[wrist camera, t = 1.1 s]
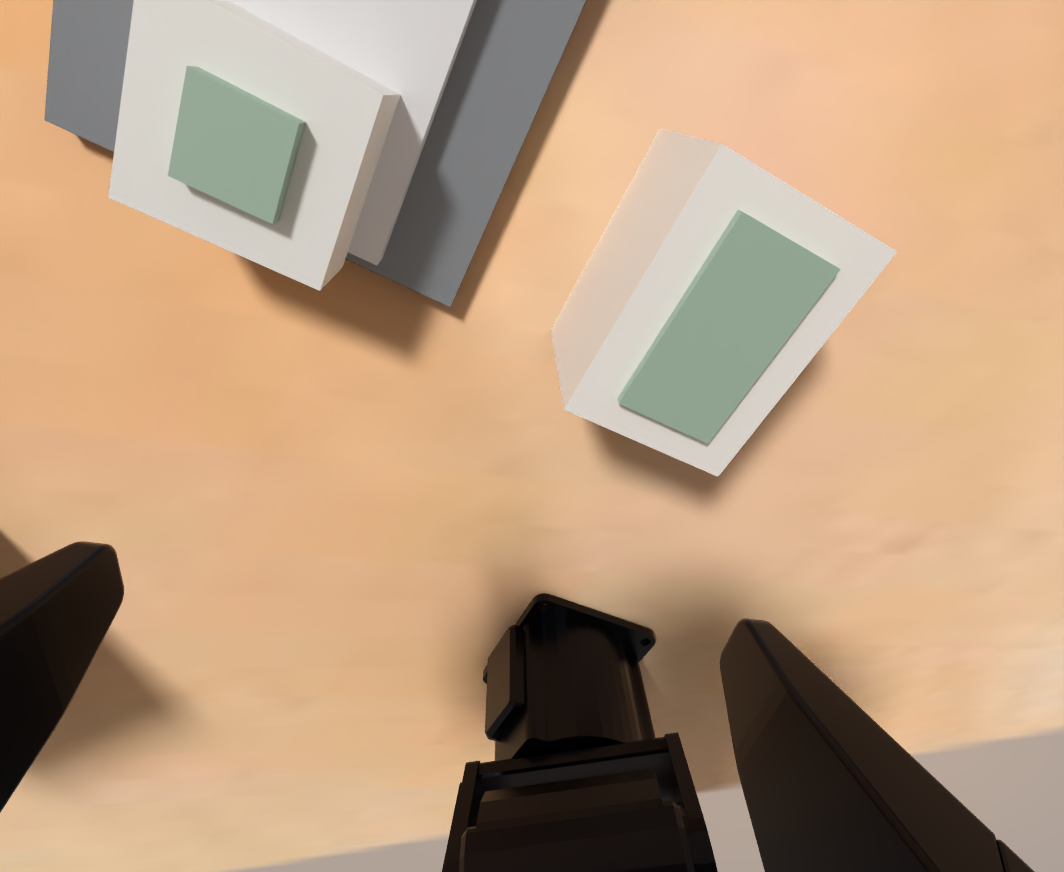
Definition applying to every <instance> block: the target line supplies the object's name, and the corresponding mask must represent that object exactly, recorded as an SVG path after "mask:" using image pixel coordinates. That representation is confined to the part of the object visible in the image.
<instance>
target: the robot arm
mask: <svg viewBox="0 0 1064 872" xmlns="http://www.w3.org/2000/svg"><path fill="white" fill-rule="evenodd" d="M123 595H124V585H123V581H122V576H121V572H120V567H119V563H118V558H117V554H116V551H115V549H114V548H113V547H112V546H111V545H108V544H101V543H92V542H84V541H83V542H75V543H73V544H70V545H68V546H66V547H64V548H62V549H60V550H58V551H56V552H54V553H52V554H49V555H47V556H45V557H43V558H41V559H39V560H37V561H35V562H33V563H31V564H29V565H27V566H25V567H23V568H21V569H19V570H16V571H14V572H12V573H10V574H8V575H6V576H4V577H2V578H0V812H1V811H2V809H3V808H4V806H5V805H6V803H7V801H8V800H9V798H10V797H11V795H12V794H13V792H14V791H15V789H16V788H17V786H18V785H19V783H20V782H21V780H22V778H23V777H24V775H25V774H26V772H27V771H28V769H29V768H30V766H31V765H32V763H33V762H34V760H35V758H36V757H37V755H38V754H39V752H40V751H41V749H42V748H43V746H44V745H45V743H46V742H47V740H48V739H49V737H50V735H51V734H52V732H53V731H54V729H55V728H56V726H57V724H58V723H59V721H60V720H61V718H62V716H63V715H64V713H65V711H66V709H67V708H68V706H69V704H70V702H71V700H72V699H73V697H74V695H75V693H76V691H77V689H78V687H79V685H80V683H81V681H82V679H83V677H84V676H85V674H86V672H87V670H88V668H89V666H90V664H91V662H92V660H93V658H94V656H95V654H96V652H97V650H98V648H99V646H100V644H101V643H102V641H103V639H104V637H105V635H106V633H107V631H108V629H109V627H110V625H111V623H112V621H113V619H114V617H115V615H116V613H117V611H118V610H119V608H120V605H121V603H122V600H123ZM541 604H546V605H541ZM645 638H646V639H645ZM655 642H656V640H655V636H654V633H653V631H652V630H650V629H648V628H645V627H642V626H639V625H636V624H633V623H630V622H627V621H625V620H622V619H619V618H616V617H613V616H610V615H607V614H604V613H601V612H598V611H595V610H592V609H590V608H587V607H584V606H581V605H578V604H575V603H572V602H569V601H566V600H563V599H560V598H557V597H554V596H552V595H549V594H539V595H537V596H535V597H534V598H533V600H532V601H531V603H530V604H529V606H528V607H527V608H526V610H525V611H524V613H523V614H522V616H521V617H520V619H519V620H518V621H517V623H516V624H515V625H513V626H511V627H509V629H508V630H507V631H506V633H505V634H504V636H503V637H502V639H501V640H500V642H499V643H498V645H497V646H496V647H495V649H494V650H493V652H492V653H491V655H490V656H489V658H488V665H487V666H486V668H485V669H484V672H483V680H484V682H485V683H486V684H487V697H486V721H485V733H486V736H487V738H488V739H490V740H493V741H495V761H491V762H484V763H480V761H474V762H467V763H466V765H465V770H464V775H463V780H462V783H460V785H459V790H458V795H457V800H456V805H455V810H454V815H453V820H452V825H451V830H450V835H449V839H448V845H447V850H446V854H445V859H444V864H443V869H442V872H717V867H716V863H715V859H714V855H713V850H712V847H711V843H710V839H709V836H708V831H707V828H706V824H705V821H704V817H703V814H702V811H701V807H700V804H699V801H698V797H697V794H696V791H695V787H694V784H693V781H692V777H691V774H690V771H689V768H688V764H687V761H686V758H685V754H684V751H683V748H682V744H681V741H680V738H679V734H678V733H671V734H665V737H661V738H655V734H654V729H653V725H652V720H651V716H650V711H649V707H648V702H647V698H646V693H645V689H644V684H643V680H642V675H641V671H640V666H639V662H640V660H641V659H642V658H643V657H644V656H645V655H646V654H647V652H648V651H649V650H650V649H651V648H652V647H653V646H654V644H655ZM720 670H721V676H722V682H723V688H724V694H725V700H726V706H727V712H728V718H729V724H730V730H731V736H732V742H733V748H734V754H735V759H736V764H737V769H738V773H739V777H740V781H741V785H742V789H743V792H744V796H745V800H746V803H747V807H748V811H749V814H750V818H751V822H752V826H753V829H754V833H755V836H756V840H757V844H758V847H759V851H760V855H761V858H762V862H763V866H764V870H765V872H1034V871H1033V870H1032V869H1031V868H1030V867H1029V866H1028V865H1027V864H1026V863H1024V861H1023V860H1022V859H1020V858H1019V857H1018V856H1017V855H1016V854H1015V853H1014V852H1013V851H1012V850H1011V849H1010V848H1009V847H1008V846H1007V845H1006V844H1005V843H1003V842H1002V841H1001V840H996V838H995V835H994V833H993V832H991V831H990V830H989V829H988V828H987V827H986V826H985V825H984V824H983V823H982V822H981V821H980V820H979V819H978V818H977V817H976V816H974V815H973V814H972V813H971V812H970V811H969V810H968V809H967V808H966V807H965V806H964V805H963V804H962V803H961V802H960V801H959V800H958V799H957V798H955V797H954V796H953V795H952V794H951V793H950V792H949V791H948V790H947V789H946V788H945V787H944V786H943V785H942V784H941V783H940V782H939V781H937V780H936V779H935V778H934V777H933V776H932V775H931V774H930V773H929V772H928V771H927V770H926V769H925V768H924V767H922V765H920V764H919V763H918V762H917V761H916V760H915V759H914V758H913V757H912V756H911V755H910V754H909V753H908V752H907V751H906V750H905V749H904V748H902V747H901V746H900V745H899V744H898V743H897V742H896V741H895V740H894V739H893V738H892V737H891V736H890V735H889V734H888V733H887V732H885V731H884V730H883V729H882V728H881V727H880V726H879V725H878V724H877V723H876V722H875V721H874V720H873V719H872V718H871V717H870V716H868V715H867V714H866V713H865V712H864V711H863V710H862V709H861V708H860V707H859V706H858V705H857V704H856V703H855V702H854V701H853V700H852V699H850V698H849V697H848V696H847V695H846V694H845V693H844V692H843V691H842V690H841V689H840V688H839V687H838V686H837V685H836V684H835V683H833V682H832V681H831V680H830V679H829V678H828V677H827V676H826V675H825V674H824V673H823V672H822V671H821V670H820V669H819V668H818V667H816V666H815V665H814V664H813V663H812V662H811V661H810V660H809V659H808V658H807V657H806V656H805V655H804V654H803V653H802V652H801V651H800V650H798V649H797V648H796V647H795V646H794V645H793V644H792V643H791V642H790V641H789V640H788V639H787V638H786V637H785V636H784V635H783V634H781V633H780V632H779V631H778V630H777V629H776V628H775V627H774V626H773V625H772V624H770V623H769V622H767V621H763V620H754V619H742V620H740V621H739V622H738V623H737V625H736V626H735V628H734V630H733V632H732V634H731V636H730V638H729V640H728V642H727V644H726V646H725V647H724V649H723V651H722V654H721V658H720Z"/></svg>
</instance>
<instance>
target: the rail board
mask: <svg viewBox="0 0 1064 872" xmlns="http://www.w3.org/2000/svg"><path fill="white" fill-rule="evenodd" d="M585 2H586V0H53V12H52V25H51V39H50V52H49V66H48V80H47V93H46V107H45V121H48V122H50V123H52V124H54V125H56V126H58V127H61V128H63V129H65V130H67V131H69V132H71V133H74V134H76V135H78V136H80V137H82V138H84V139H87V140H89V141H91V142H93V143H95V144H97V145H100V146H102V147H104V148H106V149H108V150H110V151H113V152H114V157H113V165H112V173H111V180H110V188H109V196H108V198H111V199H113V200H115V201H117V202H120V203H122V204H124V205H126V206H129V207H131V208H133V209H135V210H138V211H140V212H142V213H145V214H147V215H149V216H151V217H154V218H156V219H158V220H160V221H163V222H165V223H167V224H169V225H172V226H174V227H176V228H178V229H181V230H183V231H185V232H188V233H190V234H192V235H194V236H197V237H199V238H201V239H203V240H206V241H208V242H210V243H212V244H215V245H217V246H219V247H221V248H224V249H226V250H228V251H230V252H233V253H235V254H237V255H240V256H242V257H244V258H246V259H249V260H251V261H253V262H255V263H258V264H260V265H262V266H264V267H267V268H269V269H271V270H273V271H276V272H278V273H280V274H283V275H285V276H287V277H289V278H292V279H294V280H296V281H298V282H301V283H303V284H305V285H307V286H310V287H312V288H314V289H316V290H319V291H320V290H321V289H322V288H323V287H324V286H325V285H326V284H327V283H328V282H329V281H330V280H331V279H332V278H333V277H334V276H335V275H336V274H337V273H338V272H339V271H340V270H341V269H342V268H343V265H344V262H345V259H347V260H349V261H351V262H353V263H355V264H357V265H360V266H362V267H364V268H366V269H368V270H370V271H373V272H375V273H377V274H379V275H381V276H383V277H386V278H388V279H390V280H392V281H394V282H396V283H399V284H401V285H403V286H405V287H407V288H409V289H412V290H414V291H416V292H418V293H420V294H422V295H425V296H427V297H429V298H431V299H433V300H435V301H438V302H440V303H442V304H444V305H446V306H448V307H451V305H452V302H453V300H454V298H455V295H456V293H457V291H458V289H459V286H460V284H461V282H462V280H463V277H464V275H465V273H466V271H467V268H468V266H469V264H470V262H471V259H472V257H473V255H474V253H475V250H476V248H477V246H478V243H479V241H480V239H481V237H482V234H483V232H484V230H485V228H486V225H487V223H488V221H489V219H490V216H491V214H492V212H493V210H494V207H495V205H496V203H497V201H498V198H499V196H500V194H501V191H502V189H503V187H504V185H505V182H506V180H507V178H508V176H509V173H510V171H511V169H512V167H513V164H514V162H515V160H516V158H517V155H518V153H519V151H520V149H521V146H522V144H523V142H524V139H525V137H526V135H527V133H528V130H529V128H530V126H531V124H532V121H533V119H534V117H535V115H536V112H537V110H538V108H539V106H540V103H541V101H542V99H543V97H544V94H545V92H546V90H547V87H548V85H549V83H550V81H551V78H552V76H553V74H554V72H555V69H556V67H557V65H558V63H559V60H560V58H561V56H562V54H563V51H564V49H565V47H566V45H567V42H568V40H569V38H570V35H571V33H572V31H573V29H574V26H575V24H576V22H577V20H578V17H579V15H580V13H581V11H582V8H583V6H584V4H585Z"/></svg>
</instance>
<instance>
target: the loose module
mask: <svg viewBox="0 0 1064 872" xmlns="http://www.w3.org/2000/svg"><path fill="white" fill-rule="evenodd" d="M896 253H897V251H895V250H893V249H892V248H890V247H889V246H887V245H885V244H884V243H882V242H881V241H879V240H877V239H876V238H874V237H872V236H871V235H869V234H868V233H866V232H864V231H863V230H861V229H859V228H858V227H856V226H855V225H853V224H851V223H850V222H848V221H846V220H845V219H843V218H842V217H840V216H838V215H837V214H835V213H833V212H832V211H830V210H829V209H827V208H825V207H824V206H822V205H820V204H819V203H817V202H816V201H814V200H812V199H811V198H809V197H807V196H806V195H804V194H803V193H801V192H799V191H798V190H796V189H795V188H793V187H791V186H790V185H788V184H786V183H785V182H783V181H782V180H780V179H778V178H777V177H775V176H773V175H772V174H770V173H769V172H767V171H765V170H764V169H762V168H760V167H759V166H757V165H756V164H754V163H752V162H751V161H749V160H747V159H746V158H744V157H743V156H741V155H739V154H738V153H736V152H734V151H733V150H731V149H730V148H728V147H726V146H725V145H723V144H721V143H717V142H713V141H709V140H705V139H701V138H697V137H693V136H689V135H685V134H681V133H677V132H673V131H669V130H665V129H661V128H660V129H659V130H658V132H657V134H656V136H655V138H654V140H653V142H652V143H651V145H650V147H649V149H648V151H647V153H646V155H645V156H644V158H643V160H642V162H641V164H640V166H639V167H638V169H637V171H636V173H635V175H634V177H633V179H632V180H631V182H630V184H629V186H628V188H627V190H626V191H625V193H624V195H623V197H622V199H621V201H620V203H619V204H618V206H617V208H616V210H615V212H614V214H613V216H612V217H611V219H610V221H609V223H608V225H607V227H606V228H605V230H604V232H603V234H602V236H601V238H600V240H599V241H598V243H597V245H596V247H595V249H594V251H593V252H592V254H591V256H590V258H589V260H588V262H587V264H586V265H585V267H584V269H583V271H582V273H581V275H580V277H579V278H578V280H577V282H576V284H575V286H574V288H573V289H572V291H571V293H570V295H569V297H568V299H567V301H566V302H565V304H564V306H563V308H562V310H561V312H560V313H559V315H558V317H557V319H556V321H555V323H554V325H553V326H552V328H551V335H552V341H553V347H554V353H555V359H556V365H557V372H558V378H559V384H560V390H561V396H562V402H563V408H564V410H566V411H568V412H570V413H573V414H575V415H577V416H580V417H582V418H584V419H586V420H589V421H591V422H593V423H596V424H598V425H600V426H602V427H605V428H607V429H609V430H612V431H614V432H616V433H619V434H621V435H623V436H625V437H628V438H630V439H632V440H635V441H637V442H639V443H641V444H644V445H646V446H648V447H651V448H653V449H655V450H658V451H660V452H662V453H664V454H667V455H669V456H671V457H674V458H676V459H678V460H680V461H683V462H685V463H687V464H690V465H692V466H694V467H697V468H699V469H701V470H703V471H706V472H708V473H710V474H713V475H715V476H717V477H718V476H719V475H720V474H721V473H722V471H723V470H724V469H725V468H726V466H727V465H728V464H729V463H730V461H731V460H732V459H733V458H734V456H735V455H736V454H737V453H738V451H739V450H740V449H741V447H742V446H743V445H744V444H745V442H746V441H747V440H748V439H749V437H750V436H751V435H752V434H753V432H754V431H755V430H756V429H757V427H758V426H759V425H760V424H761V422H762V421H763V420H764V419H765V417H766V416H767V415H768V414H769V412H770V411H771V410H772V409H773V407H774V406H775V405H776V403H777V402H778V401H779V400H780V398H781V397H782V396H783V395H784V393H785V392H786V391H787V390H788V388H789V387H790V386H791V385H792V383H793V382H794V381H795V380H796V378H797V377H798V376H799V375H800V373H801V372H802V371H803V370H804V368H805V367H806V366H807V364H808V363H809V362H810V361H811V359H812V358H813V357H814V356H815V354H816V353H817V352H818V351H819V349H820V348H821V347H822V346H823V344H824V343H825V342H826V341H827V339H828V338H829V337H830V336H831V334H832V333H833V332H834V331H835V329H836V328H837V327H838V326H839V324H840V323H841V322H842V320H843V319H844V318H845V317H846V315H847V314H848V313H849V312H850V310H851V309H852V308H853V307H854V305H855V304H856V303H857V302H858V300H859V299H860V298H861V297H862V295H863V294H864V293H865V292H866V290H867V289H868V288H869V287H870V285H871V284H872V283H873V282H874V280H875V279H876V278H877V276H878V275H879V274H880V273H881V271H882V270H883V269H884V268H885V266H886V265H887V264H888V263H889V261H890V260H891V259H892V258H893V256H894V255H895V254H896Z"/></svg>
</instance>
